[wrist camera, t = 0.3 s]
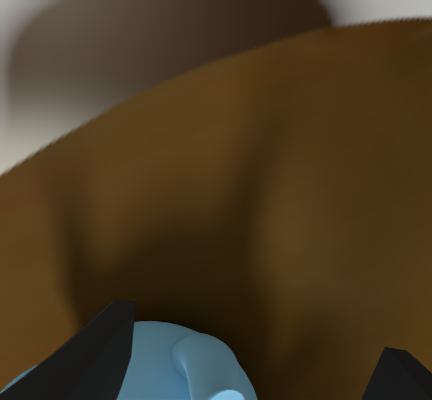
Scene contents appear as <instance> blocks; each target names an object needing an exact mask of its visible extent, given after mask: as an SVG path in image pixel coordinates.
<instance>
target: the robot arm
mask: <svg viewBox="0 0 432 400" xmlns="http://www.w3.org/2000/svg"><path fill="white" fill-rule="evenodd" d="M135 308H136V303H134V302H128V301H123V300H117V299H115V300H113V301H111V302H110V303H109V304H108V305H107V306H106V307H105V308H104V309H103V310H102V311H101V312H100V313H99V314H97V315H96V316H95V317H94V318H93V319H92V320H91V321H90V322H89V323H88V324H87V325H85V326H84V327H83V328H82V329H81V330H80V331H79V332H78V333H76V334H75V335H74V336H73V337H72V338H70V339H69V340H68V341H67V342H66V343H65V344H63V345H62V346H61V347H60V348H59V349H58V350H56V351H55V352H54V353H53V354H51V355H50V356H49V357H48V358H46V359H45V360H44V361H43V362H41V363H40V364H39V365H37V366H36V367H35V368H34V369H32V370H31V371H30V372H28V373H27V374H26V375H25V376H23V377H22V378H21V379H19V380H18V381H17V382H15V383H14V384H13V385H11V386H10V387H8V388H7V389H6V390H4V391H3V392H2V393H0V400H117V398H118V395H119V393H120V390H121V387H122V384H123V381H124V378H125V375H126V372H127V369H128V366H129V362H130V359H131V355H132V343H133V332H134V320H135ZM362 400H432V373H431V372H430V371H428V370H427V369H426V368H425V367H424V366H423V365H422V364H421V363H420V362H419V361H418V360H417V359H415V358H414V357H413V356H412V355H411V354H410V353H409V352H407V351H405V350H400V349H394V348H389V347H385V348H384V350H383V353H382V355H381V357H380V359H379V361H378V364H377V366H376V368H375V370H374V372H373V375H372V377H371V379H370V381H369V383H368V386H367V388H366V390H365V392H364V395H363V397H362Z"/></svg>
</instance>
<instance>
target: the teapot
mask: <svg viewBox="0 0 432 400" xmlns="http://www.w3.org/2000/svg"><path fill="white" fill-rule="evenodd" d="M36 366H37V365H36ZM36 366H34V367H32V368H30V369H29V370H27V371H25V372H23V373H22V374H20V375H19V376H18V377H17V378H15V379H14V380H13V381H12V382H10V383H9V384H8V385H7V386H6V387H5V388H4V389H3V390H2V391H1V392H0V393H2V392H3V391H4V390H6V389H7V388H8V387H10V386H11V385H13V384H14V383H15V382H17V381H18V380H19V379H21V378H22V377H23V376H25V375H26V374H27V373H28V372H30V371H31V370H32V369H34V368H35V367H36ZM117 400H258V399H257V397H256V394H255V391H254V388H253V386H252V384H251V382H250V381H249V379H248V377H247V375H246V373H245V372H244V370H243V369H242V367H241V366H240V365H239V363H238V362H237V359H236V357H235V355H234V353H233V352H232V351H231V349H230V348H229V347H228V346H227V345H226V344H225V343H224V342H222V341H221V340H219V339H217V338H216V337H213V336H210V335H208V334H202V333H198V332H196V331H194V330H192V329H189V328H186V327H183V326H180V325H176V324H171V323H167V322H158V321H138V322H134V332H133V343H132V355H131V359H130V362H129V366H128V369H127V372H126V375H125V378H124V381H123V384H122V387H121V390H120V393H119V395H118V398H117Z"/></svg>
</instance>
